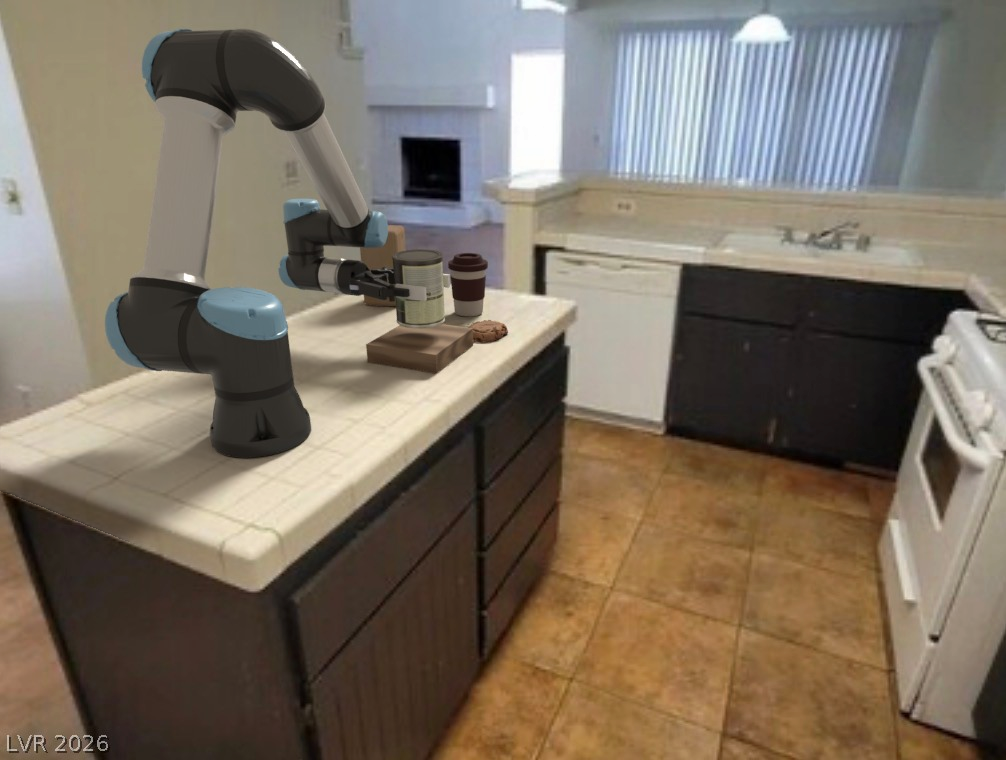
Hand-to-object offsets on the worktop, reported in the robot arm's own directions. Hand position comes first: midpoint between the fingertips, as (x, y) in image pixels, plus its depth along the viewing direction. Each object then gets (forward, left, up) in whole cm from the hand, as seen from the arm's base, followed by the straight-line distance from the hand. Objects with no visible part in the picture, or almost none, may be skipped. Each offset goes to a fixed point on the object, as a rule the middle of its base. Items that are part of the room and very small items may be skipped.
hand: (437, 287), depth 131 cm
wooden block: (+32, +32, -15) cm, 48 cm away
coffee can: (0, +4, -8) cm, 9 cm away
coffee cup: (+31, +7, -15) cm, 35 cm away
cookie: (+17, -4, -16) cm, 23 cm away
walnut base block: (0, +4, -15) cm, 16 cm away
